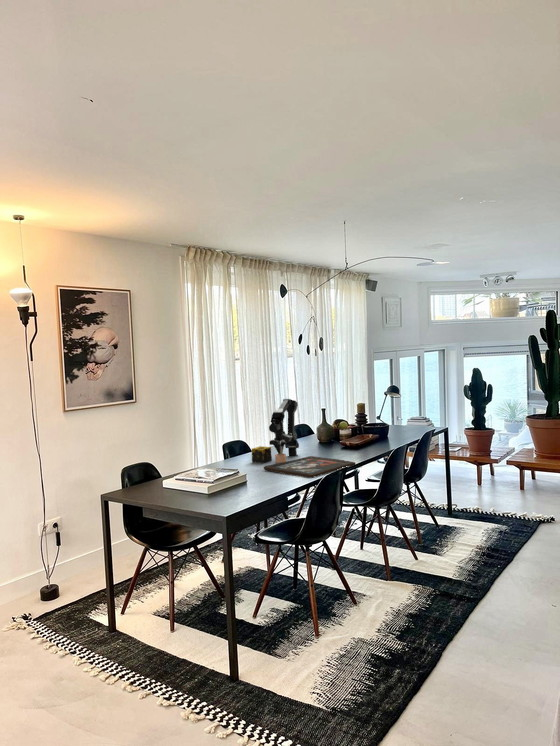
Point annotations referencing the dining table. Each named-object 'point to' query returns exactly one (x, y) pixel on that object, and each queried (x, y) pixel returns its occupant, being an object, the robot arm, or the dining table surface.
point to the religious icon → (309, 466)
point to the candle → (261, 454)
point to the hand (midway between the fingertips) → (280, 453)
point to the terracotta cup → (280, 458)
